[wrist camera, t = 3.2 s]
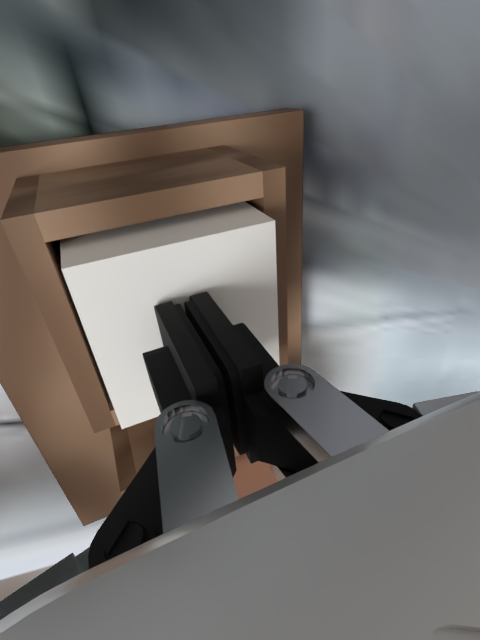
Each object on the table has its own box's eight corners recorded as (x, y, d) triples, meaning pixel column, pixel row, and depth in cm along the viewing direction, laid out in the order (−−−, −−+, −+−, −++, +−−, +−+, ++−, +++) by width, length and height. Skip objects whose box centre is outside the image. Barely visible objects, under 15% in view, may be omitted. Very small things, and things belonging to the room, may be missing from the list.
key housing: (287, 108, 18) (389, 119, 13) (290, 422, 30) (343, 497, 25) (-109, 162, 14) (-220, 216, 8) (82, 505, 26) (90, 620, 20)
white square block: (217, 184, 15) (274, 220, 11) (231, 311, 18) (279, 373, 15) (59, 215, 13) (61, 268, 10) (105, 348, 17) (121, 429, 13)
